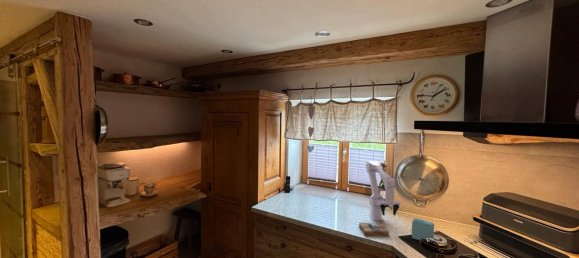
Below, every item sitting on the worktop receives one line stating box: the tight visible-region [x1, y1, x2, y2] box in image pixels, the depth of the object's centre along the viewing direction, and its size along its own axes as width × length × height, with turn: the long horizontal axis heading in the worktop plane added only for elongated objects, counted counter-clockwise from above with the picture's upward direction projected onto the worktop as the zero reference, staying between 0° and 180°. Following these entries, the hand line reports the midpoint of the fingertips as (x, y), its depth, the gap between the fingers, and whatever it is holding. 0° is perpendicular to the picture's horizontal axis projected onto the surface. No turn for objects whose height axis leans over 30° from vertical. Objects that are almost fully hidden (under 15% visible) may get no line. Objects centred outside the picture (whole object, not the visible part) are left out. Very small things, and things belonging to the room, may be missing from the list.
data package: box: [411, 218, 435, 241], centre depth 149 cm, size 12×4×12 cm, turn 55°
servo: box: [369, 222, 379, 230], centre depth 158 cm, size 9×4×6 cm, turn 4°
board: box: [358, 222, 390, 237], centre depth 158 cm, size 12×16×3 cm
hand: (388, 214), depth 162 cm, fingers open, 7 cm apart
